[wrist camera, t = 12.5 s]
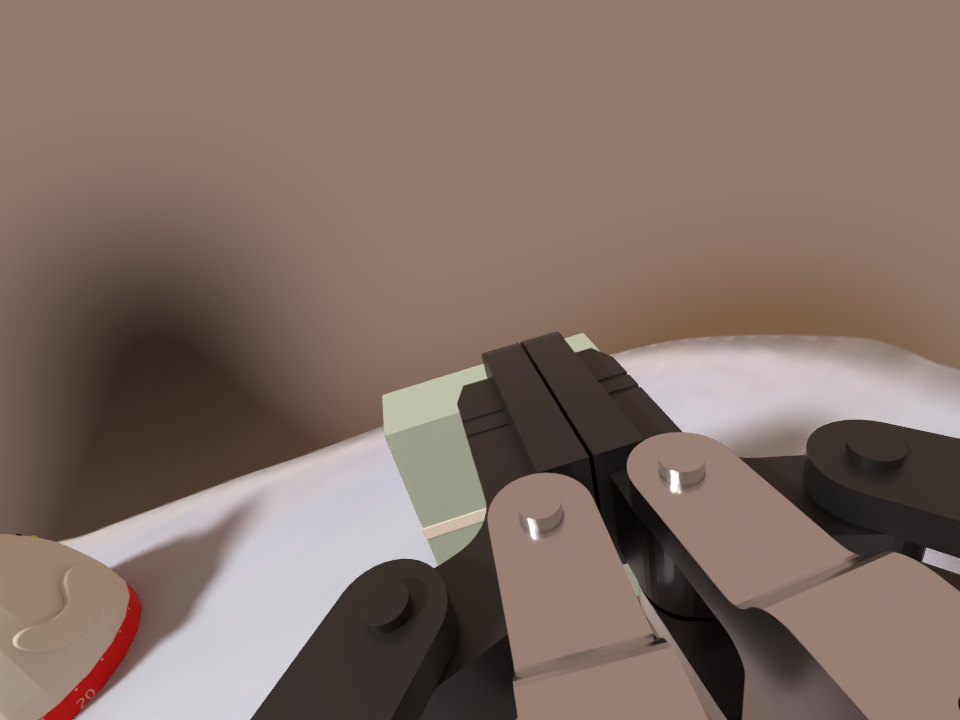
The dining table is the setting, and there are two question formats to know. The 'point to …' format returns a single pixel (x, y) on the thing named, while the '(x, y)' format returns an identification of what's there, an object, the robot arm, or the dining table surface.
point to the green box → (443, 458)
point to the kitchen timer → (58, 628)
